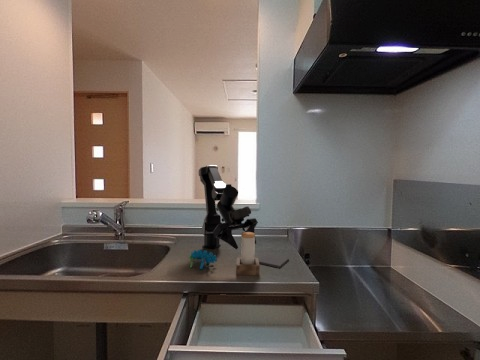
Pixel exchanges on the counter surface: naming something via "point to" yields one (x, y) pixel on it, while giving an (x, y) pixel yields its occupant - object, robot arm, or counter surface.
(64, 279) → the counter surface
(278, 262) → the mat
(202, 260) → the blue lumpy piece
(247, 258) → the plug
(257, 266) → the socket block
